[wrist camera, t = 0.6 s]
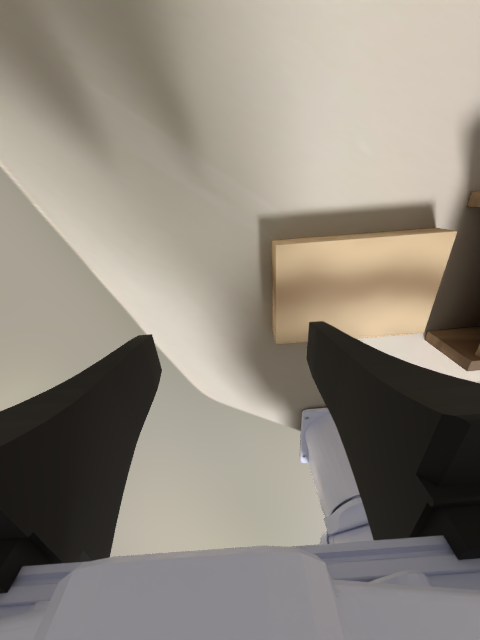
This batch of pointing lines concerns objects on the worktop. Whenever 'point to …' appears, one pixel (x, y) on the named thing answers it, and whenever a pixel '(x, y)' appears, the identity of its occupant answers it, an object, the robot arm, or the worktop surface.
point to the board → (358, 282)
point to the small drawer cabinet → (460, 332)
